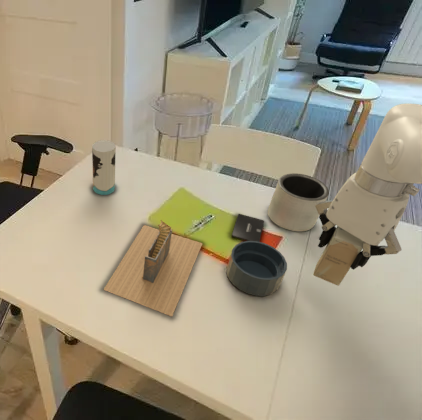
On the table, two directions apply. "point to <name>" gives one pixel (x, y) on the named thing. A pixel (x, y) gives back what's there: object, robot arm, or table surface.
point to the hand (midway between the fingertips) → (339, 254)
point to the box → (338, 256)
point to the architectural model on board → (155, 269)
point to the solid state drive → (247, 228)
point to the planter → (297, 201)
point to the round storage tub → (256, 268)
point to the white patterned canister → (103, 167)
